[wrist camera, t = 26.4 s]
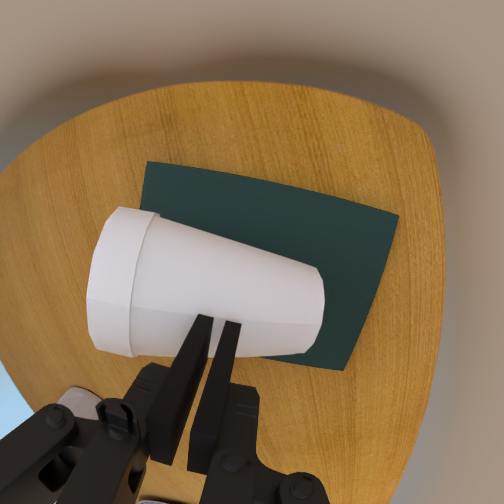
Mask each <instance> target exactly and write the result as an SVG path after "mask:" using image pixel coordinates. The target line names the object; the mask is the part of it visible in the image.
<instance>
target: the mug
mask: <svg viewBox="0 0 504 504" xmlns="http://www.w3.org/2000/svg"><path fill="white" fill-rule="evenodd" d="M100 401H102V400H101V399H100V398H99V397H97V396H96V395H94V394H93V393H91V392H89V391H87V390H85V389H82V388H78V387H72V388H70V389H68V390H67V391H66V392H65V393H64V395H63V396H62V397H61V398H60V399H59V400H58V401H57V404H62V405H64V406H66V407H68V408H69V409H70V410H71V411H72V412H73V414H74V416H76V417H81V418H86V419H93V420H99V418H98V415H97V412H96V408H95V406H96V405H97V404H98V403H99V402H100Z"/></svg>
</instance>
